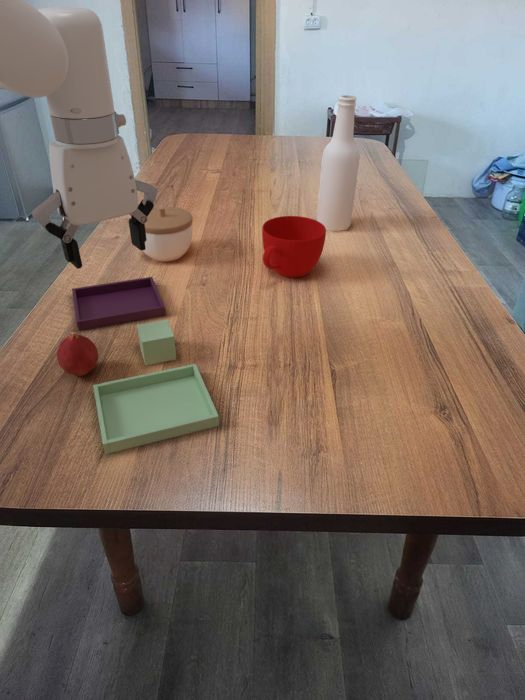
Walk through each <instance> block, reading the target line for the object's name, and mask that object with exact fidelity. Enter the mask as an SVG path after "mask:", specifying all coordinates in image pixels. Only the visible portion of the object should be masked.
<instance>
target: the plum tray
mask: <svg viewBox="0 0 525 700" xmlns="http://www.w3.org/2000/svg"><path fill="white" fill-rule="evenodd" d="M71 294H72V300H73V306H74V313H75V321H76V326H77V329H78V331H79V332H82V331H87V330H93V329H99V328H103V327H104V328H105V327H109V326H116V325H120V324H126V323H132V322H138V321H143V320H149V319H155V318H160V317H166V316H167V313H166V306H165V304H164V302H163V299H162V297H161V294H160V291H159V290H158V287H157V285H156V282H155V280H154V278H153V276H147V277H140V278H133V279H127V280H120V281H114V282H107V283H99V284H94V285H87V286H81V287H80V286H79V287H75V288H74V287H73V288H71Z"/></svg>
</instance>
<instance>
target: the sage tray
mask: <svg viewBox="0 0 525 700" xmlns="http://www.w3.org/2000/svg"><path fill="white" fill-rule="evenodd" d="M200 372H201V371H200V370H199V368H198V365H197V363H192V364H188V365H183V366H178V367H173V368H168V369H164V370H159V371H154V372H149V373H143V374H140V375H134V376H130V377H129V376H128V377H125V378H120V379H115V380H111V381H105V382H101V383H95V384H93V386H92V387H93V393H94V399H95V405H96V412H97V417H98V423H99V424H98V425H99V430H100V435H101V442H102V447H103V451H104V454H105V455H109V454H113V453H117V452H120V451H124V450H129V449H132V448H137V447H140V446H144V445H148V444H152V443H158V442H161V441H165V440H169V439H172V438H176V437H180V436H185V435H188V434H193V433H197V432H200V431H204V430H209V429H212V428H216V427H219V426H220V415H219V413H218V411H217V409H216V407H215V404H214V402H213V400H212V398H211V397H212V396H211V395H210V393H209V390H208V388H207V386H206V384H205V382H204V378H203V377H202V375H201V373H200Z"/></svg>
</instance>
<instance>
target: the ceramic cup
mask: <svg viewBox="0 0 525 700" xmlns="http://www.w3.org/2000/svg"><path fill="white" fill-rule="evenodd" d="M261 229H262V230H261V236H262V247H263V255H262V262H263V265H264V267H265V268H266V269H269V270H273V271H274V272H275V273H276V274H277V275H279V276H281V277H284V278H288V279H297V278H302V277H304V276H306V275H308V273H310V272H311V271H312V270H313V269H315V267H316V265H317V264H318V263H319V261H320V259H321V256H322V254H323V251H324V247H325V243H326V237H327V236H326V235H327V230H326V228H325V226H324V225H323V224H322V223H320V222H318V221H316V219H313V218H310V217H306V216H298V215H283V216H278V217H277V216H276V217H273V218H270V219H268V220H266V221H265V222H264V223H263V224H262V228H261Z"/></svg>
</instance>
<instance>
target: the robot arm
mask: <svg viewBox="0 0 525 700" xmlns="http://www.w3.org/2000/svg"><path fill="white" fill-rule="evenodd" d="M105 42H106V41H105V35H104V30H103V25H102V21H101V20H100V18H99V16H98V14H97V13H95V12H94V11H93V10H90V9H88V8H84V7H83V8H82V7H61V6H60V7H59V6H58V7H42V8H38V9H37V8H36V7H34V6H33V5H32V4H30V3H29V2H27V0H0V90H3V91H8V92H11V93H15V94H17V95H20V96H23V97H28V98H43V97H44V98H46V102H47V107H48V112H49V116H50V121H51V126H52V130H53V135H54V138H55V140H52V141H50V142H49V143H48V145H49V146H48V155H49V156H48V158H49V169H50V177H51V184H52V192H53V193H52V194H51V195H50V196H49V197H47V198H46V199H45V200H44V201H42V202H41V203H39V205H38V206H36V207H35V208H34V209H33V210H32V211H31V215H32V217H33V218H34V219H35V220H36V221H37V222H38V224H40V226H42V227H43V229H45V230H46V231H47V232H48V233H49V234H50V235H53V236H54V237H55V238H57V239H59V240H60V242H61V243H60V244H61V247H62V251H63V255H64V258H65V260H66V262H67V263H70V264H71V265H72V266H74V267H75V268H76V270H79V269H82V267H83V263H82V256H81V253H80V249H79V244H78V241H77V240H76V239H74V237H75V235H76V233H77V232H78V230H79V228H80V226H85V225H86V226H87V225H91V224H95V223H100V222H104V221H107V220H108V221H109V220H112V219H116V218H121V217H125V216H127V215H129V216H130V218H128V219H129V220H128V227H129V235H130V241H131V242H130V243H131V244H132V245H133V246H134V247H135V248H137V249H138V250H139V251H142V252H143V250H145V249H146V248H145V241H146V231H145V223H146V222H147V220H148V219H147V217H148V215H149V214H150V212H151V211H152V209H153V208H154V207H155V204H154V203H155V201H156V198H157V196H158V193H159V189H158V188H157V187H156V186H154V185H152V184H150V183H147V182H143V181H140V180H138V179H135V175H134V169H133V166H132V162H131V159H130V158H131V157H130V155H129V152H128V149H127V146H126V143H125V141H124V138H123V137H122V136H120V135H119V134H120V128H121V127H123V126H126V125H127V119H126V116H125V114H123V113H121V114H118V113H117V111H115V106H114V105H115V104H114V98H113V92H112V84H111V78H110V77H111V76H110V71H109V63H108V56H107V50H106V43H105ZM138 192H141V193H143V199H141V201H140V203H139V196H138V195H139V194H138ZM55 211H57V212H58V214H59V215H60V216H61V217H62V218H61V219H60V221H59V223H58V225H57V224H56V223H54V222H53V221H52V220H51V219H50V215H51V214H53V213H54V212H55Z"/></svg>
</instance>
